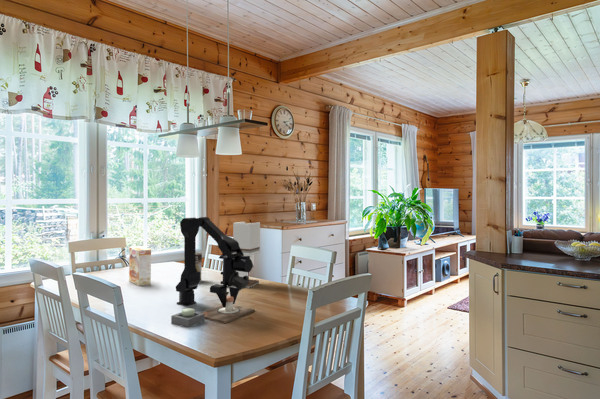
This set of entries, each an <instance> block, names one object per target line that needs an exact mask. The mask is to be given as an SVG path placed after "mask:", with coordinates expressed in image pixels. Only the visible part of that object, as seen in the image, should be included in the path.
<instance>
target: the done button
mask: <svg viewBox="0 0 600 399" xmlns="http://www.w3.org/2000/svg"><path fill="white" fill-rule="evenodd" d="M181 312H182V316H184V317H190V316H194V315H195V312H196V311H195V309H194V308H183V309H182V310H181Z"/></svg>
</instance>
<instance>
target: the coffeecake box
mask: <svg viewBox="0 0 600 399" xmlns="http://www.w3.org/2000/svg"><path fill="white" fill-rule="evenodd" d="M128 253H129V260H128V261H129V265H128V266H129V270H128V274H129V276H128V281H129V282H130V283H132V284H134V285H137V286H138V287H140V286H148V285H151V284H152V283H151V282H152V280H151V277H152V249H151V248H148V247H145V246H141V245H139V246H129V252H128Z"/></svg>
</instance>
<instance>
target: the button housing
mask: <svg viewBox="0 0 600 399" xmlns="http://www.w3.org/2000/svg"><path fill="white" fill-rule="evenodd" d="M170 319H171V320H170V322H171V324H173V325H177V326H180V327H185V328H190V327H194V326H195V325H198V324H201V323H204V322H205V320H206V319H205V314H203V313H201V312H197V311H195V315H194V316H190V317H184V316H182V311H181V312H178V313H175V314H173V315H171V316H170Z"/></svg>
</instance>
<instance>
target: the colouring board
mask: <svg viewBox="0 0 600 399" xmlns="http://www.w3.org/2000/svg"><path fill="white" fill-rule="evenodd" d="M253 311H254V312H256V309H255V308H251V307H247V306H241V305H235V304H233V311H225V307H223V306H222V304H220V305H219V306H216V307H211V308H209V309H207V310H204V311H201V312H200V313H203V314H205V320H208V319H209V321H214V322H218V323H222V324H227V323H229V322H232V321H234V320H236V319H239V318H242V317H245V316H246V315H248V314H251V313H253Z"/></svg>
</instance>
